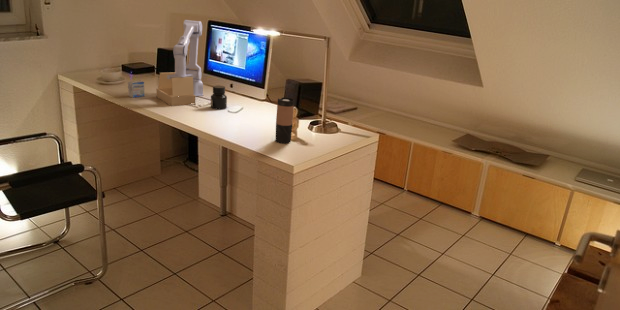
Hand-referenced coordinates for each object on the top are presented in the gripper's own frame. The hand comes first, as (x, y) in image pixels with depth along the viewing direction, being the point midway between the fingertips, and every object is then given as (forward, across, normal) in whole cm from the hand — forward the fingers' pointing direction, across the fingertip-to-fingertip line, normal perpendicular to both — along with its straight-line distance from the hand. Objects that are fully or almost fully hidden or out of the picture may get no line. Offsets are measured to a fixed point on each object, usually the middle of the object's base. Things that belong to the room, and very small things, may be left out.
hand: (180, 91), depth 271 cm
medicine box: (+7, -17, +23) cm, 29 cm away
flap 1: (-3, 0, +15) cm, 16 cm away
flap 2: (-3, 0, -3) cm, 4 cm away
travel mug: (+7, +16, -79) cm, 81 cm away
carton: (+7, 0, +7) cm, 10 cm away
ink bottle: (+7, +16, -15) cm, 23 cm away
